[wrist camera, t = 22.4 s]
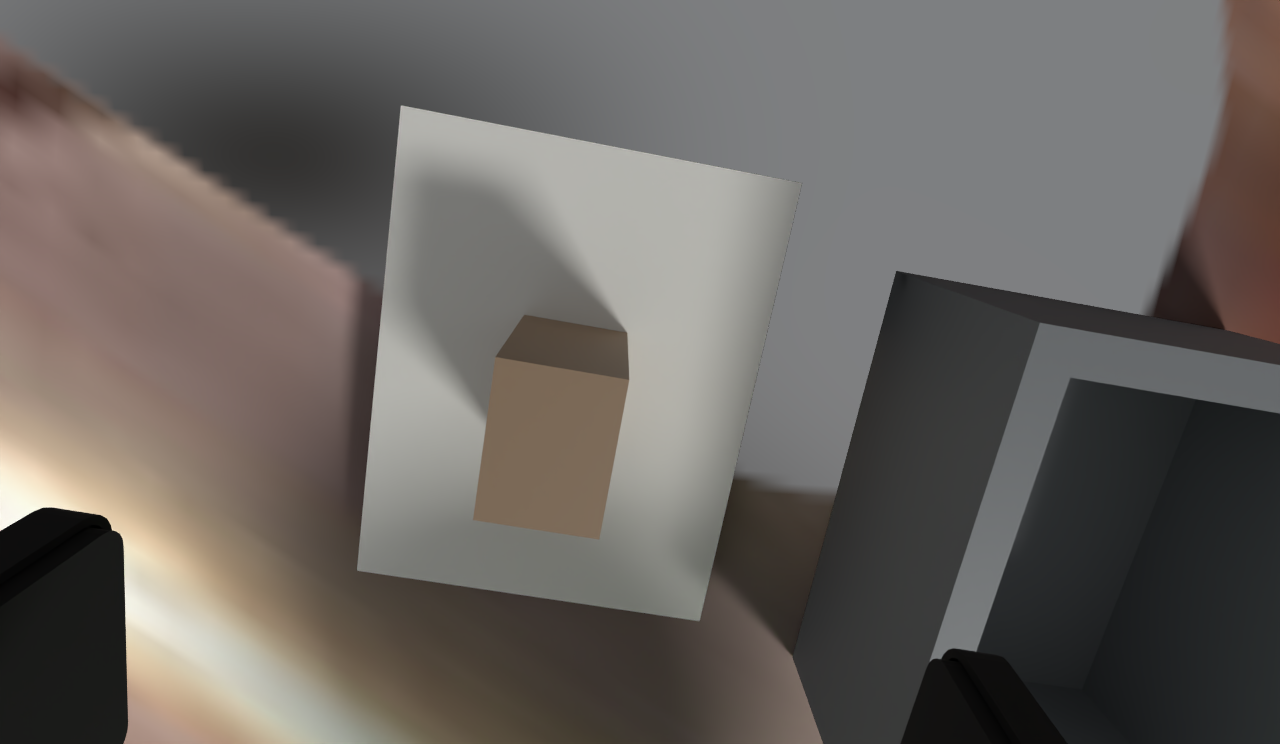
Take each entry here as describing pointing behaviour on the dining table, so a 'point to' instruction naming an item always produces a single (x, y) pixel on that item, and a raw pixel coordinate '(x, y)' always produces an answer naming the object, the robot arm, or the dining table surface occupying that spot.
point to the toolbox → (1055, 521)
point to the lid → (564, 363)
